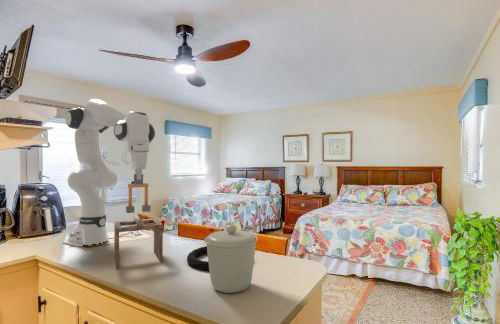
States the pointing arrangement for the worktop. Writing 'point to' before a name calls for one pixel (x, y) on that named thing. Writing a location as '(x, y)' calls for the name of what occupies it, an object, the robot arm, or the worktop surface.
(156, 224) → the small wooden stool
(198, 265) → the cable lock
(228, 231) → the canister
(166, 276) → the worktop surface
